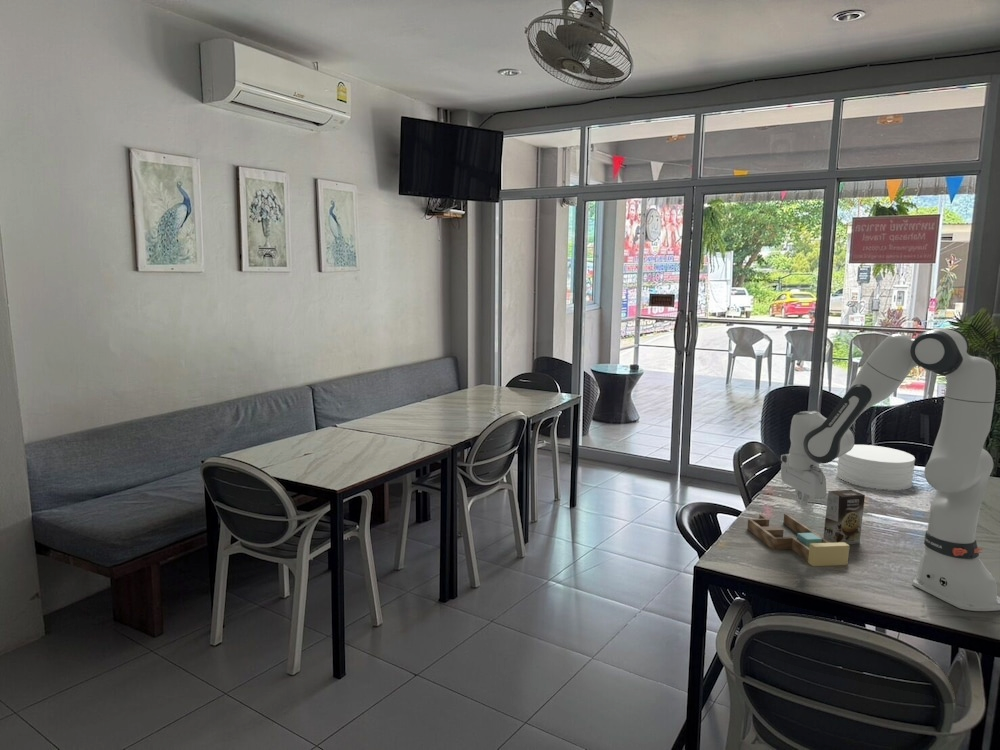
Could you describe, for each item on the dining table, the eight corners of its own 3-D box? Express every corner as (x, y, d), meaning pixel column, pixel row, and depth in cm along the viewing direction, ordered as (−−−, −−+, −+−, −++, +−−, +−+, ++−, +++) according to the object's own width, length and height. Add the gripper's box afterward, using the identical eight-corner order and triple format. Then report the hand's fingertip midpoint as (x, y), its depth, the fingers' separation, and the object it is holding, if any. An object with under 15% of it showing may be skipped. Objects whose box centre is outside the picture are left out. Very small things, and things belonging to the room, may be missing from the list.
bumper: (847, 564, 206) (849, 545, 205) (812, 566, 204) (814, 546, 203) (842, 561, 208) (844, 542, 207) (807, 562, 207) (809, 543, 206)
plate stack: (821, 472, 300) (823, 446, 298) (873, 468, 308) (875, 442, 307) (873, 492, 274) (876, 464, 272) (928, 487, 282) (931, 460, 280)
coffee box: (836, 546, 220) (841, 496, 217) (822, 538, 226) (827, 490, 223) (860, 543, 222) (865, 494, 220) (845, 535, 228) (850, 488, 226)
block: (820, 554, 213) (821, 538, 212) (805, 555, 212) (806, 539, 212) (810, 547, 218) (812, 532, 217) (795, 548, 217) (797, 533, 216)
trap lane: (840, 561, 208) (841, 550, 207) (790, 563, 206) (791, 552, 205) (786, 523, 238) (786, 513, 238) (741, 524, 236) (742, 514, 236)
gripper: (833, 469, 209) (830, 514, 211) (796, 453, 229) (794, 494, 231) (813, 470, 208) (811, 515, 210) (777, 454, 228) (776, 495, 230)
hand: (802, 504), depth 220 cm, fingers closed
